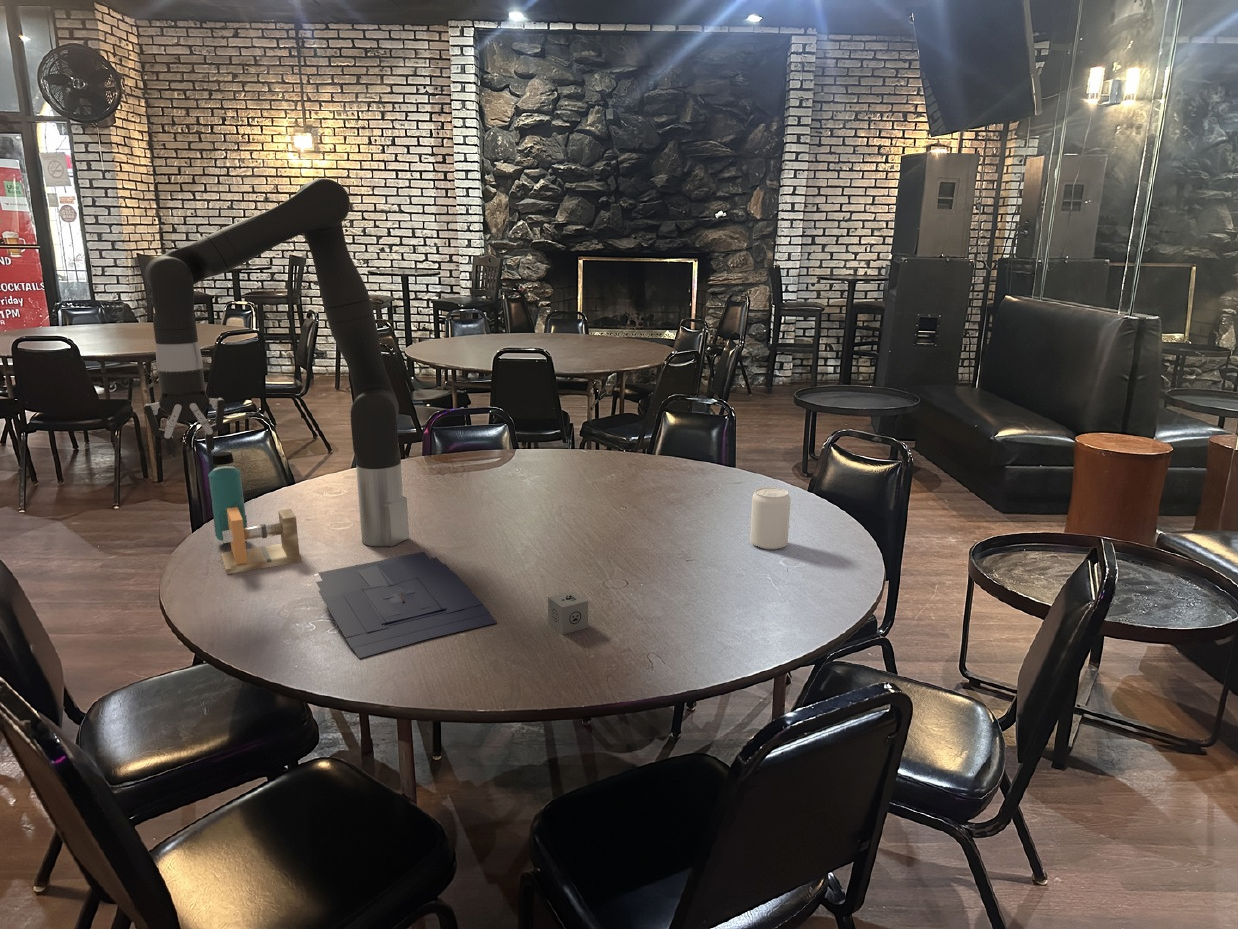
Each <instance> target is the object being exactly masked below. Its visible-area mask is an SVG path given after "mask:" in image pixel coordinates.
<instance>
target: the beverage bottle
mask: <svg viewBox="0 0 1238 929" xmlns="http://www.w3.org/2000/svg"><path fill="white" fill-rule="evenodd" d="M211 454H212V456H211V464H212V465H215V466H217V467H215V468H213V469H212V470H211V471H210V472H209V473H208V475H207V476H208V480H209V489H210V496H211V497H210V498H211V508H212V509H211V510H212V517H213V520H212V521H213V527H214V534H215V537H216V539H217V540H218V541H222V542H224V541H223V533H222V531H227V530H229V524H228V515H227V508H233V507H238V510H239V512H240V514H241V517H242V519H243V527H244V528H248V520H247V515H246V506H245V501H244V500H245V496H244V495H245V494H244V493H245V492H244V489H243V484H242V476H241V474H242V473H241V471H240V470H239V469H238V468H237V467H235V466H229V465H231V464H232V463H234V462H235V461H234V456H233V453H232V452H231V451H218V452H214V453H211ZM225 465H226V466H225Z"/></svg>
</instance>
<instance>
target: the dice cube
mask: <svg viewBox="0 0 1238 929" xmlns="http://www.w3.org/2000/svg"><path fill="white" fill-rule="evenodd" d="M547 610H548V611H547V612H548V613H547V617H548V619H547V621H548V625H549V626H551V627H552V628H553V629H555V630H556V631H557V632H558V633H560V634H562V636H563V635H566V634H570V633H574V632H577V631H581V630H584V629H587V628H589V601H588V600H587V599H586V598H585V597H583V596H582V595H581V594H580V593H577V592H576V591H574V590H571V591H566V592H562V593H558V594H555V595H551V596H548V597H547Z"/></svg>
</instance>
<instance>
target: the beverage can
mask: <svg viewBox="0 0 1238 929" xmlns="http://www.w3.org/2000/svg"><path fill="white" fill-rule="evenodd" d="M751 499H752V500H751V513H750V514H751V516H750V535H749V536H750V537H749V542H750V543H751V544H752V545H753V546H755V547H757V546H758V548H759V547H760V548H759V549H762V548H763V550H779V549H781V548H785V547H786V546H787V545H788V542H789V527H790V512H791V511H790V510H791V496H790V495H789V491H788V490H786V489H784V488H780V487H772V486H767V487H765V486H764V487H759V488H755V490H754V493H753V495H752V498H751ZM778 548H779V549H778Z"/></svg>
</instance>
